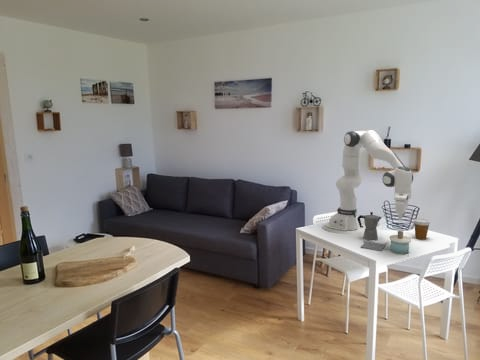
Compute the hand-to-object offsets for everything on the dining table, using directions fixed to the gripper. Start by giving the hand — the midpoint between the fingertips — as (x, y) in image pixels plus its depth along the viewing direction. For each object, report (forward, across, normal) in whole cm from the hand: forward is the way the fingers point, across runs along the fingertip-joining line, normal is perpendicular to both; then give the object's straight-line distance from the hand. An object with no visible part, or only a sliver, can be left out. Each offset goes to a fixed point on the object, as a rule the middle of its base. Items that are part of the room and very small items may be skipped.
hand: (401, 217), depth 208 cm
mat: (+20, 0, -15) cm, 25 cm away
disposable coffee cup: (+21, -31, +8) cm, 38 cm away
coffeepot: (+20, -14, -21) cm, 33 cm away
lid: (+13, 0, 0) cm, 13 cm away
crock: (+20, 0, 0) cm, 20 cm away
